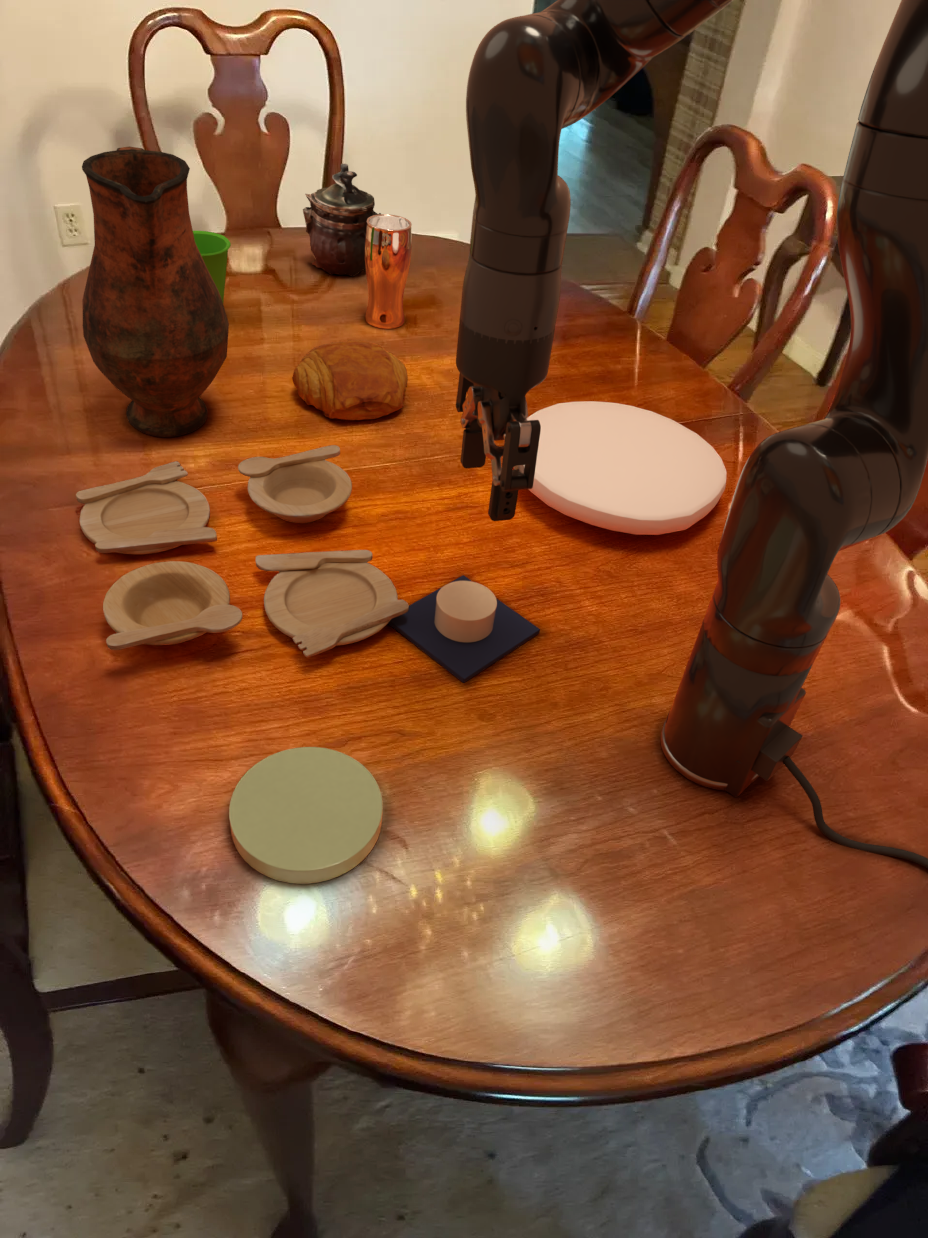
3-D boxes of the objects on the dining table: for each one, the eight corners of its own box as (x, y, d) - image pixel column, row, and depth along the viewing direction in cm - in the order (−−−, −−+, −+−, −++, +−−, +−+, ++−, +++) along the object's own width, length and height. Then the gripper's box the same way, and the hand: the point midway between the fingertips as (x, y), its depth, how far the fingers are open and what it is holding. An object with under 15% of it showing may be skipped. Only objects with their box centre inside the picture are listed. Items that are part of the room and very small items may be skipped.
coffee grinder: (317, 291, 150) (317, 173, 138) (298, 255, 160) (297, 143, 148) (392, 288, 154) (398, 173, 142) (370, 254, 164) (373, 144, 152)
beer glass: (356, 312, 145) (358, 214, 135) (397, 309, 148) (402, 212, 138) (371, 332, 141) (375, 231, 131) (413, 327, 143) (420, 229, 133)
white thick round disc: (531, 377, 125) (728, 416, 122) (523, 422, 128) (714, 460, 126) (499, 465, 102) (740, 514, 100) (490, 516, 106) (722, 564, 104)
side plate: (412, 824, 75) (413, 811, 74) (293, 914, 68) (292, 900, 67) (319, 738, 81) (318, 724, 79) (200, 812, 74) (198, 798, 72)
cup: (162, 320, 137) (152, 245, 129) (192, 298, 143) (185, 225, 136) (217, 333, 135) (211, 258, 128) (245, 310, 142) (241, 238, 135)
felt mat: (539, 633, 94) (540, 629, 93) (463, 683, 87) (464, 679, 87) (462, 579, 99) (463, 574, 98) (385, 622, 93) (386, 618, 92)
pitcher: (103, 457, 109) (53, 190, 89) (93, 372, 124) (49, 126, 104) (245, 444, 114) (228, 189, 94) (220, 364, 129) (200, 128, 109)
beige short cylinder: (505, 625, 93) (509, 603, 91) (463, 651, 90) (466, 628, 88) (463, 595, 96) (466, 572, 94) (421, 619, 93) (423, 596, 91)
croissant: (292, 388, 130) (282, 335, 124) (400, 370, 132) (395, 317, 127) (306, 440, 119) (296, 384, 114) (423, 419, 122) (419, 363, 116)
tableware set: (76, 488, 104) (68, 457, 101) (329, 456, 113) (329, 427, 111) (105, 709, 80) (97, 676, 78) (423, 645, 90) (426, 614, 87)
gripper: (586, 354, 68) (552, 533, 78) (523, 279, 78) (501, 447, 89) (490, 358, 66) (468, 542, 76) (438, 280, 76) (425, 452, 87)
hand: (485, 490), depth 82 cm, fingers open, 8 cm apart
